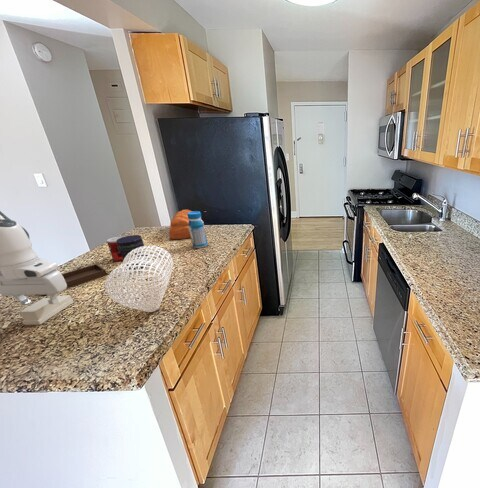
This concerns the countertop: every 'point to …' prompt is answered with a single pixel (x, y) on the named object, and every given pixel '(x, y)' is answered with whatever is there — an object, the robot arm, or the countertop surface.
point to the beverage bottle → (197, 229)
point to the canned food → (114, 248)
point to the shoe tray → (83, 275)
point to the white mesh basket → (140, 261)
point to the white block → (44, 310)
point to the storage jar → (130, 247)
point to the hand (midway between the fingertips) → (40, 303)
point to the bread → (180, 225)
